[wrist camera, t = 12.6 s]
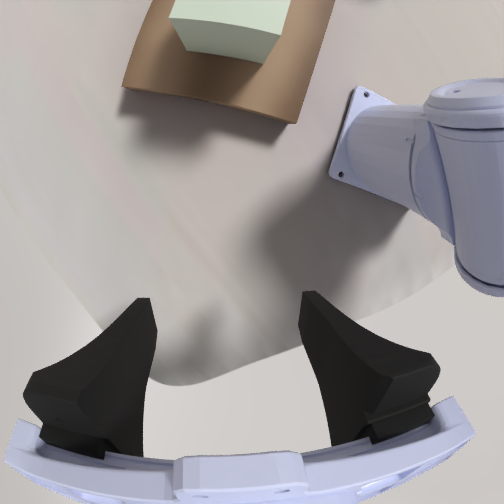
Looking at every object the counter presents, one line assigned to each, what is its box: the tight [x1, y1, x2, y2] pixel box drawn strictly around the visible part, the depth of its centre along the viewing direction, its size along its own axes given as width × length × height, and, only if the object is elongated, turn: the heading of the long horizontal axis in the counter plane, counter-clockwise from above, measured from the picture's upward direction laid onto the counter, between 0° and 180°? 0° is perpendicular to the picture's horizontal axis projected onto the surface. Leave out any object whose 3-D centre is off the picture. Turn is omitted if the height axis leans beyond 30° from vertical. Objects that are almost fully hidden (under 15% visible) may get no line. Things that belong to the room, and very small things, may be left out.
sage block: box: [169, 0, 291, 64], centre depth 10 cm, size 5×5×6 cm
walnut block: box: [122, 0, 335, 124], centre depth 14 cm, size 12×12×3 cm
